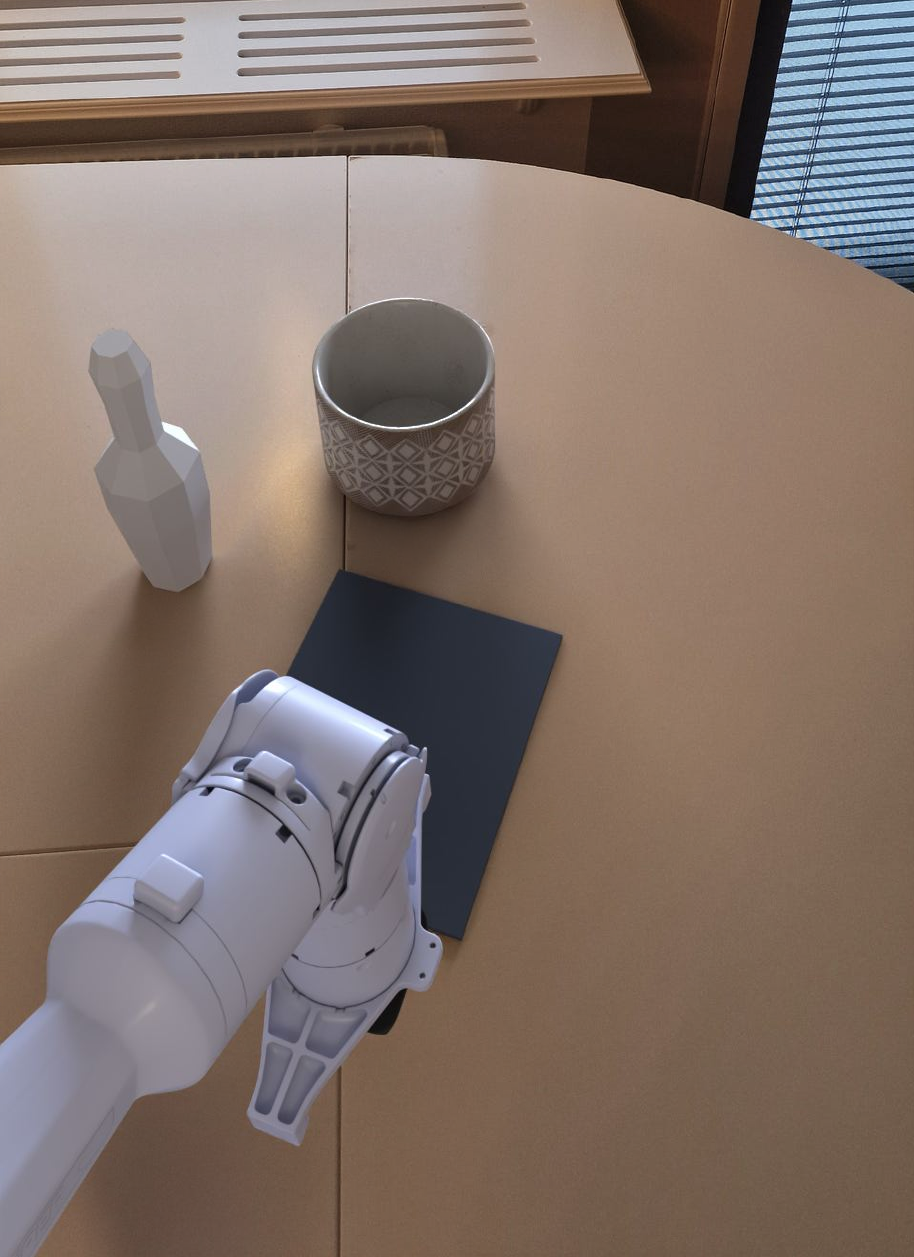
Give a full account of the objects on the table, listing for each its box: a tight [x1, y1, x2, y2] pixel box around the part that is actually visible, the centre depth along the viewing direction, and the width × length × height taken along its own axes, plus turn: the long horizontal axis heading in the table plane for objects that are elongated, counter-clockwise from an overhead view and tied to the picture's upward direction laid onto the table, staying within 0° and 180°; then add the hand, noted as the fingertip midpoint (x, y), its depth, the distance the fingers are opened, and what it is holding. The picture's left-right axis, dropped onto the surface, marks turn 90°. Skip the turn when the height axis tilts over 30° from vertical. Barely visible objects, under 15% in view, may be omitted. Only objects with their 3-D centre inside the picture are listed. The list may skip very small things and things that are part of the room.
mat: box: [285, 568, 564, 942], centre depth 80 cm, size 20×16×1 cm
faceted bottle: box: [87, 327, 213, 593], centre depth 82 cm, size 6×6×22 cm
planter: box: [311, 297, 496, 517], centre depth 93 cm, size 13×13×10 cm
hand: (364, 1002), depth 59 cm, fingers closed
